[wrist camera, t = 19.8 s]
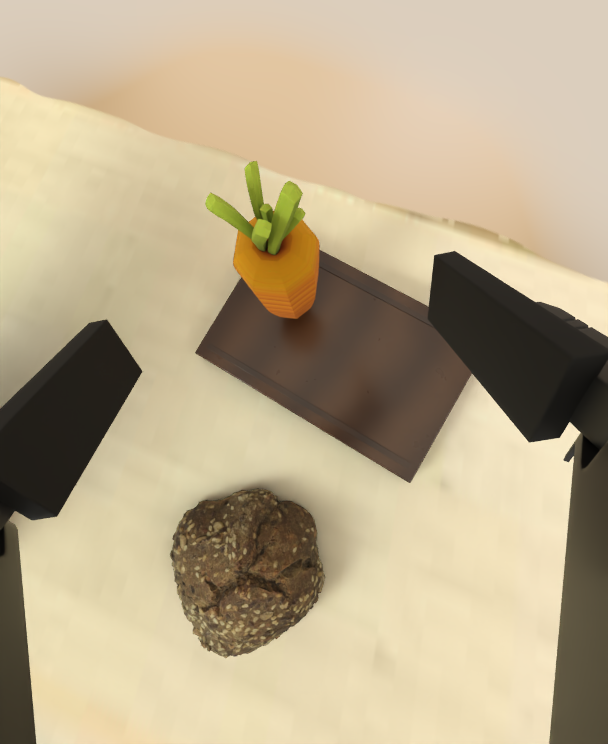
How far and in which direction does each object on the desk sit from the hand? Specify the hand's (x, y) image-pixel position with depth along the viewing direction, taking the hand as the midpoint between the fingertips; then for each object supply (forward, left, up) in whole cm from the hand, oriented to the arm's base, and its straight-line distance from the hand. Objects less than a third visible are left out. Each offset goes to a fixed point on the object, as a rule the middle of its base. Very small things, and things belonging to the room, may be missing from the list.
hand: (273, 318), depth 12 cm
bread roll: (+5, -17, -15) cm, 24 cm away
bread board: (+2, +3, -15) cm, 16 cm away
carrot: (-3, +4, -14) cm, 15 cm away
